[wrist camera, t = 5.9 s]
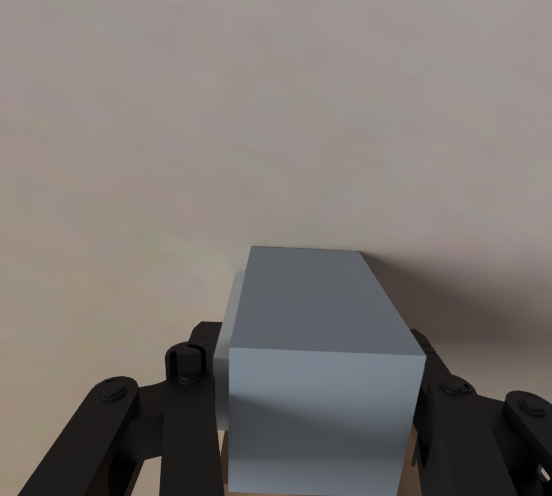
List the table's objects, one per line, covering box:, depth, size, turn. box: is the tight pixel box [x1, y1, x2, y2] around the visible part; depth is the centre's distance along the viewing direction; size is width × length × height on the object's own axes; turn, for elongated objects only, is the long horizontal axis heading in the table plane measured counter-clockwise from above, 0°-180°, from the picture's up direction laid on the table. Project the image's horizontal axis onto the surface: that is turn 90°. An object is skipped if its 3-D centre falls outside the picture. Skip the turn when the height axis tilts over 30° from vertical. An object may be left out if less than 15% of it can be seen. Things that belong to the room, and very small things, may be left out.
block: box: [228, 246, 426, 496], centre depth 14 cm, size 5×5×8 cm
